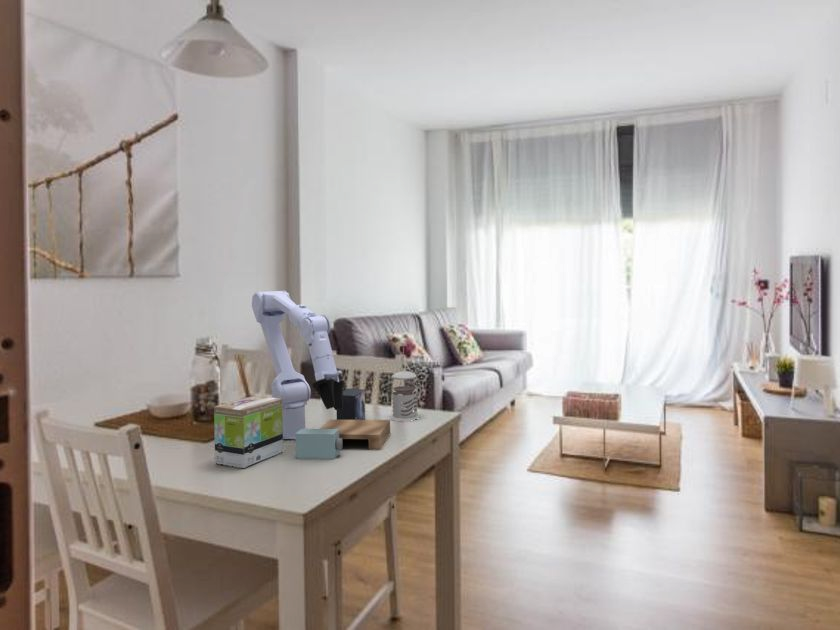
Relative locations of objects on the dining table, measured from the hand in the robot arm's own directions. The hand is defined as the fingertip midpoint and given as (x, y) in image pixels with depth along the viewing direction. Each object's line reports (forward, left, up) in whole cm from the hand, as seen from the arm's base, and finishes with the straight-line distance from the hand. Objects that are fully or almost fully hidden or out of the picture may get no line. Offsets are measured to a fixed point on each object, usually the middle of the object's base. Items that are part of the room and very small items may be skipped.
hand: (335, 408), depth 155 cm
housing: (-4, -3, -12) cm, 13 cm away
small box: (-3, +29, -12) cm, 31 cm away
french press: (+13, +39, -12) cm, 43 cm away
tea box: (-21, -6, -12) cm, 25 cm away
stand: (+2, +11, -12) cm, 16 cm away
